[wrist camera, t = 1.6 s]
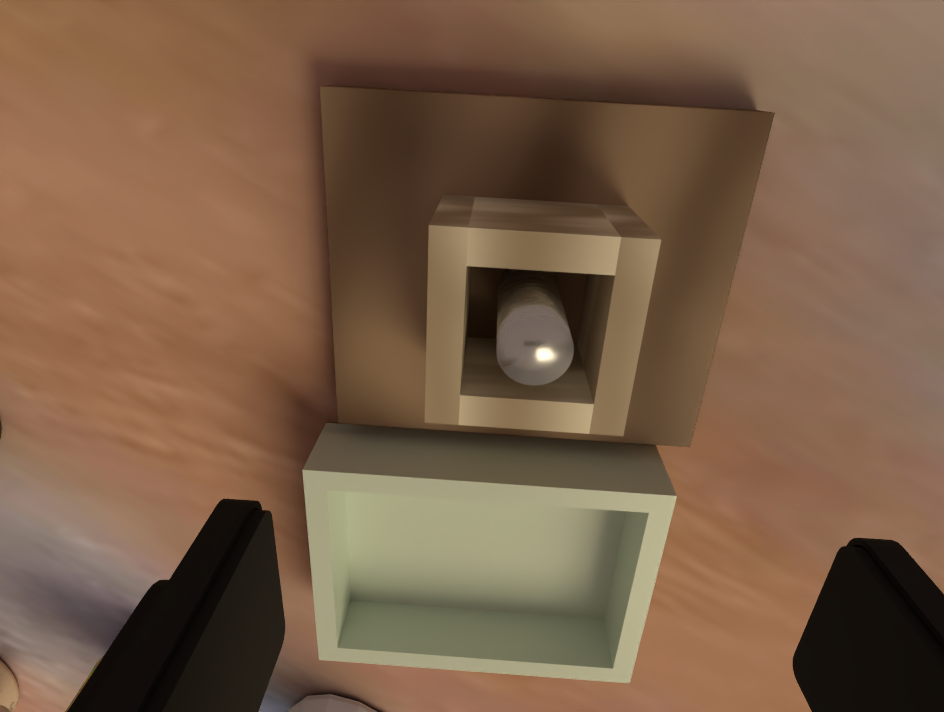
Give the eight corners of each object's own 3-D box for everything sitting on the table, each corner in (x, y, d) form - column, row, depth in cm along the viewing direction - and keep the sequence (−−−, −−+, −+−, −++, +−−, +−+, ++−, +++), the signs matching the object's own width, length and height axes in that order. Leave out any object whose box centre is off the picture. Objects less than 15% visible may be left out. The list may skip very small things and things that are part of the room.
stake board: (757, 110, 22) (774, 112, 21) (680, 429, 28) (689, 447, 27) (330, 85, 22) (319, 86, 21) (345, 406, 28) (337, 423, 27)
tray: (655, 445, 28) (676, 495, 25) (616, 621, 34) (629, 683, 30) (325, 422, 29) (302, 469, 25) (337, 600, 34) (319, 659, 31)
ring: (628, 206, 22) (661, 239, 18) (601, 371, 25) (623, 436, 21) (443, 194, 22) (428, 225, 18) (438, 360, 25) (424, 422, 21)
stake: (560, 261, 23) (578, 318, 18) (553, 318, 24) (568, 387, 19) (499, 257, 23) (499, 313, 18) (495, 314, 24) (493, 383, 19)
